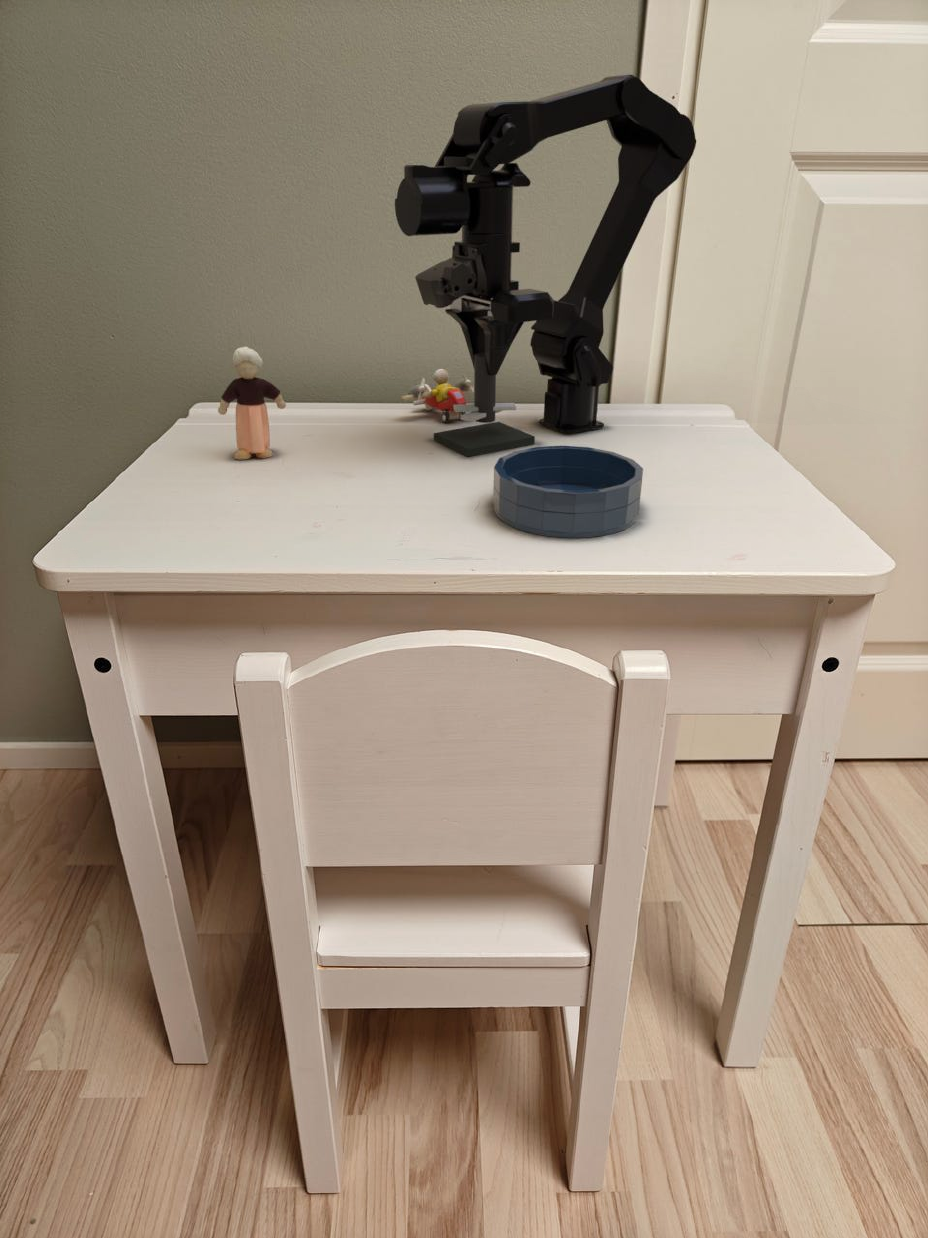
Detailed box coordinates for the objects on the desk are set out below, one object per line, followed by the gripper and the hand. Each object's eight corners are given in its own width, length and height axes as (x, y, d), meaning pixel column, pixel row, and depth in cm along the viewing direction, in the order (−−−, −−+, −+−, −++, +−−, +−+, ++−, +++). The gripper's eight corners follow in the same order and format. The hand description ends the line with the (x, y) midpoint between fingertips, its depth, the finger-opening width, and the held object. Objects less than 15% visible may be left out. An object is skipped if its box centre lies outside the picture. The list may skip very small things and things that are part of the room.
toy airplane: (464, 425, 115) (464, 377, 112) (399, 421, 117) (397, 373, 114) (478, 408, 123) (479, 362, 120) (417, 404, 125) (416, 359, 122)
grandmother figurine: (230, 464, 100) (216, 352, 94) (222, 455, 103) (208, 346, 97) (294, 455, 104) (284, 346, 98) (284, 446, 107) (274, 340, 101)
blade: (499, 411, 111) (500, 347, 107) (521, 419, 107) (523, 354, 103) (448, 420, 107) (447, 354, 103) (469, 429, 104) (469, 361, 100)
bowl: (576, 477, 97) (578, 438, 95) (669, 518, 86) (674, 475, 84) (467, 501, 90) (467, 460, 88) (553, 549, 79) (555, 503, 77)
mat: (498, 428, 114) (498, 421, 113) (534, 443, 108) (535, 436, 107) (433, 440, 109) (433, 432, 109) (467, 457, 103) (467, 448, 103)
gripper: (384, 229, 100) (390, 366, 108) (472, 242, 86) (471, 398, 94) (465, 225, 105) (465, 356, 113) (560, 237, 92) (552, 385, 99)
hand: (485, 372), depth 104 cm, fingers closed on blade, 2 cm apart
